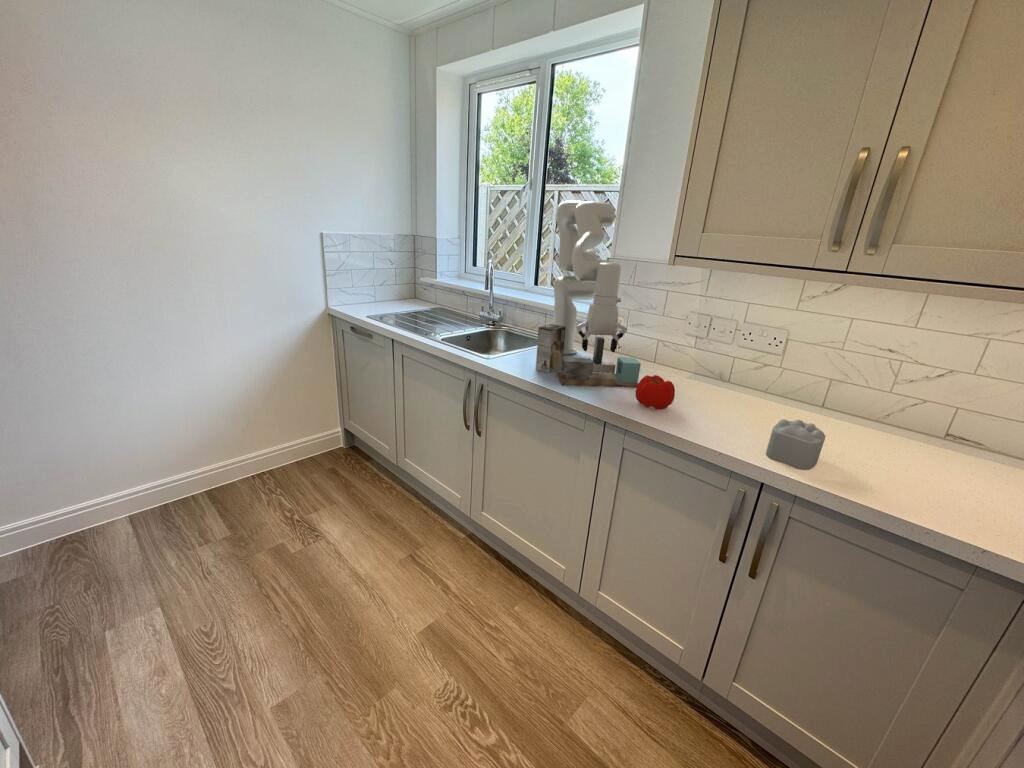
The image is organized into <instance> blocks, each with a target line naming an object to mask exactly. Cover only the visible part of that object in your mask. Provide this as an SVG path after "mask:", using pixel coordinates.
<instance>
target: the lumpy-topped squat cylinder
mask: <svg viewBox="0 0 1024 768" xmlns="http://www.w3.org/2000/svg"><path fill="white" fill-rule="evenodd" d="M825 441H826V435H825V433H824V432H823V431H822V430H821V429H820V428H819V427H817V426H816V425H815V424H814V423H806V422H804V421H803V420H801V419H794V420H788V419H785V418H784V419H780V420H778V422H777V423H776V424H775V425H774V426H773V427H772V430H771V433H770V437H769V439H768V443H767V448H766V451H765V456H766V457H767V458H768V459H770V460H772V461H774V462H777V463H781V464H783V465H787V466H788V467H791V468H793V469H796V470H801V471H810V470H812V469H813V468H814V467H816V465H817V463H818V461H819V458H820V456H821V452H822V449H823V446H824V442H825Z"/></svg>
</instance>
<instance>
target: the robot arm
mask: <svg viewBox="0 0 1024 768" xmlns="http://www.w3.org/2000/svg"><path fill="white" fill-rule="evenodd" d="M556 210H557V211H556V224H557V229H558V234H559V246H558V249H559V252H558V253H559V254H558V268H559V270H560V271H561V272H563V273H571V274H572V273H573V275H562V276H559V277H558V278H556V279H555V281H554V283H553V284H554V285H553V293H554V304H553V305H554V309H553V320H552V324H554V325H559V326H565V327H566V329H565V340H564V351H563V355H574V354H576V353H577V348H576V347H574V341H575V332H576V331H577V333H578V335H580V337H581V338H582V342H581V348H582V350H583V351H584V352H587V351H588V344H589V340H588V338H589V337H590V336H591V335H593V336H611V337H612V338H611V342H610V347H609V348H610V352H612V353H615V352H616V350H617V348H618V347H617V346H618V342H619V341H620V340H621V338H623V337H624V335H625V334H626V332H627V331H628V328H627V327H626V326H624V325H622V324H620V323H619V307H618V305H617V304H618V303H621V301H622V298H621V297H618V294H619V293H618V292H619V287H620V278H621V270H622V266H621V265H620V264H619V263H617V262H614V261H612V260H608V259H599V258H598V255H597V252H596V251H595V250H593V248H596V247H598V246H599V245H601V243H602V242H603V241H604V239H605V233H604V229H603V228H610V227H611V226H612V225H613V224H614V221H615V217H616V213H615V208H614V206H613V205H612V204H611V203H609V202H601V201H590V200H588V201H584V200H582V201H581V200H565V201H561V203H559V205H558V207H557V209H556ZM592 299H593V301H592V302H593V303H590V304H589V309H588V312H587V316H586V321H583V322H581V323H579V324H576V323H577V322H576V321H577V314H578V312H577V311H578V310H577V308H576V305H575V304H574V302H573V301H590V300H592ZM582 328H585V329H584V330H585V332H583V331H582ZM618 329H620V331H619V332H618Z"/></svg>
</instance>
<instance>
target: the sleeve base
mask: <svg viewBox="0 0 1024 768" xmlns="http://www.w3.org/2000/svg"><path fill="white" fill-rule="evenodd" d="M593 365H594V362H593V359H592V358H587V357H585V358H584V357H565V356H563V358H562V368H560V369H561V370H560V371H559V370H556V376H557V378H559V379H558V381H559V382H560V385H561V386H569V385H572V386H573V385H574V387H596V386H604V387H603V388H605V387H606V388H623V389H624V388H627V389H628V388H629V389H636V388H637V385H638V383H639V382H638V383H628V382H620V381H619V380H618V378H617V377H616V376H615V374H616V373H593Z"/></svg>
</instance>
